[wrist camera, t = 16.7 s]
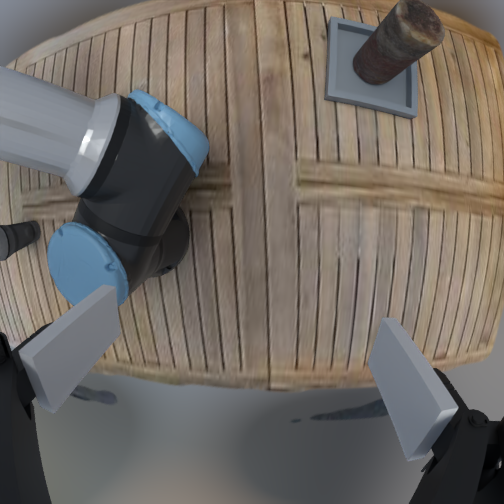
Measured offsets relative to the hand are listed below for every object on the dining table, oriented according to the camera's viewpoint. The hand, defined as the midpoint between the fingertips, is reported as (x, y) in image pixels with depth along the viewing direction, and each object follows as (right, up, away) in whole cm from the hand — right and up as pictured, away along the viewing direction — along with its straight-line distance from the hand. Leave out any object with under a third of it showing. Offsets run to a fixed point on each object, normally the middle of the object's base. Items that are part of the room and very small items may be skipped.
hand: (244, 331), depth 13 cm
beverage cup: (-49, +9, +39) cm, 63 cm away
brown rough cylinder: (+21, +36, +27) cm, 49 cm away
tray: (+21, +36, +27) cm, 49 cm away
